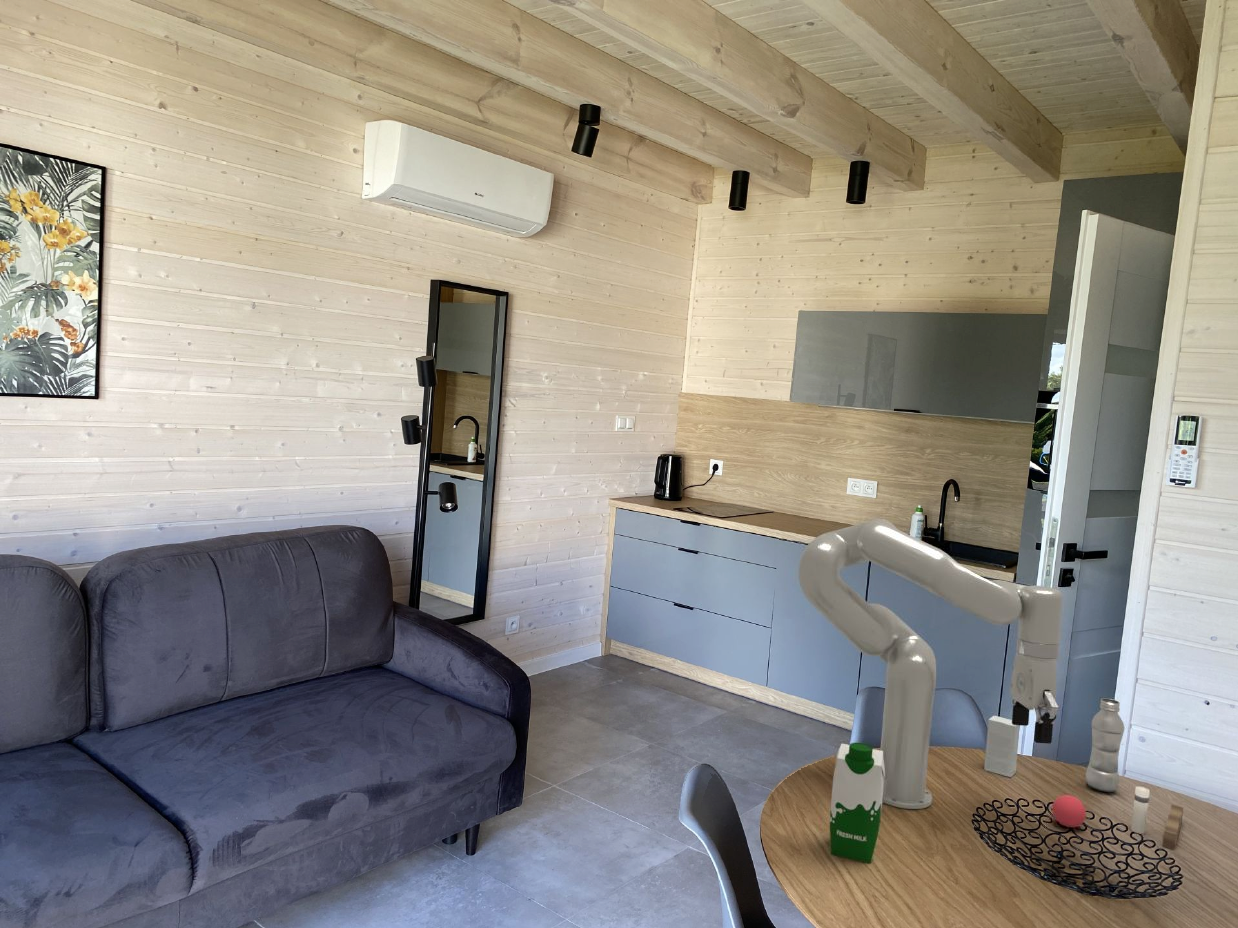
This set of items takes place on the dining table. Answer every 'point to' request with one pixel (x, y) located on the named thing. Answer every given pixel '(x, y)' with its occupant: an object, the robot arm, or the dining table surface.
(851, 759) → the milk carton
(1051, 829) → the dining table surface
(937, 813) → the dining table surface
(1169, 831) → the board
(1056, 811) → the ball
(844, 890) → the dining table surface
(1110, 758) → the plastic bottle
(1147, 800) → the pin
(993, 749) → the skincare box
